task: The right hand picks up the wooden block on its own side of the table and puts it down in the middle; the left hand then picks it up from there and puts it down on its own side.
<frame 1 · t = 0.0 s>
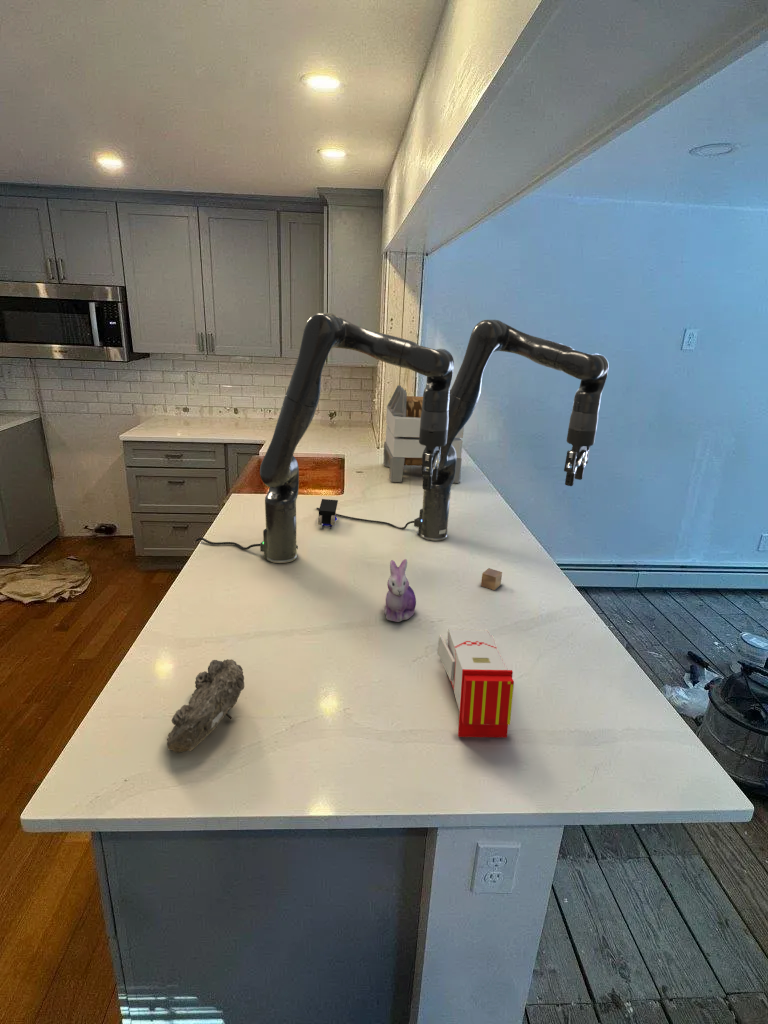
left hand: (429, 484, 157), 29 cm above the counter, tool pointing down, fingers open, 8 cm apart
right hand: (573, 482, 165), 29 cm above the counter, tool pointing down, fingers open, 8 cm apart
figurine character: (327, 524, 206), on the counter
grey slatted planter box: (419, 473, 275), on the counter
block: (490, 585, 165), on the counter
figurine: (399, 614, 147), on the counter
toy: (469, 691, 119), on the counter
fossil: (212, 717, 108), on the counter
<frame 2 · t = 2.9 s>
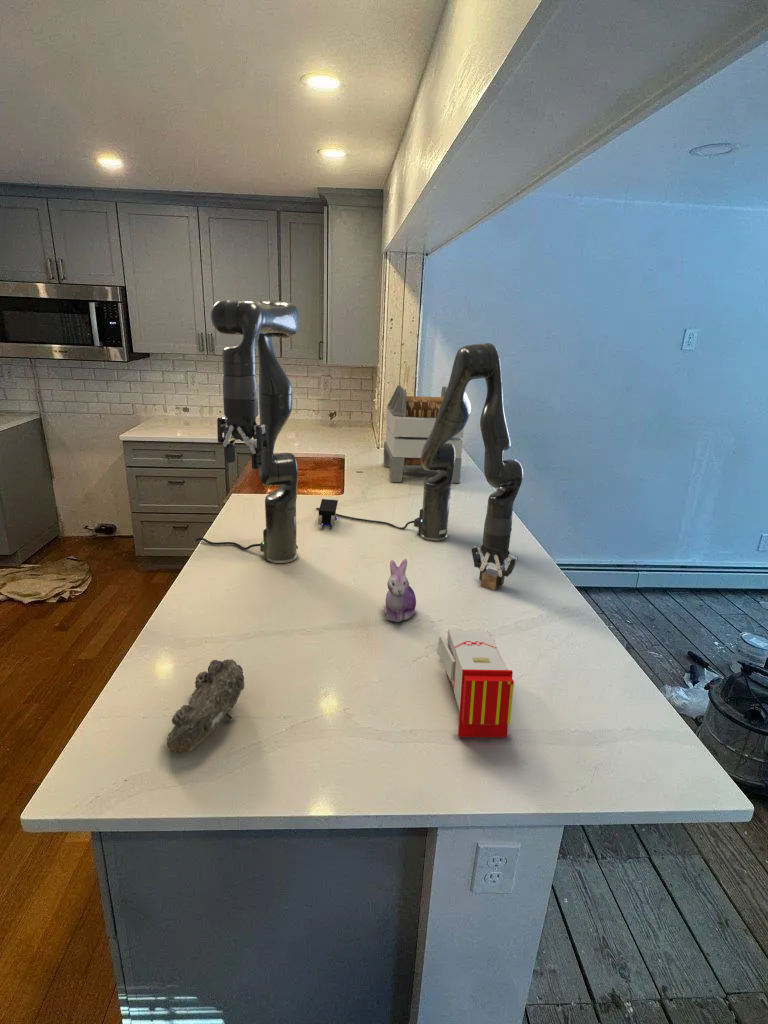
left hand: (243, 465, 132), 39 cm above the counter, tool pointing down, fingers open, 8 cm apart
right hand: (491, 584, 165), 1 cm above the counter, tool pointing down, fingers closed on block, 4 cm apart
block: (490, 585, 165), on the counter, touching right hand
everything else where it was.
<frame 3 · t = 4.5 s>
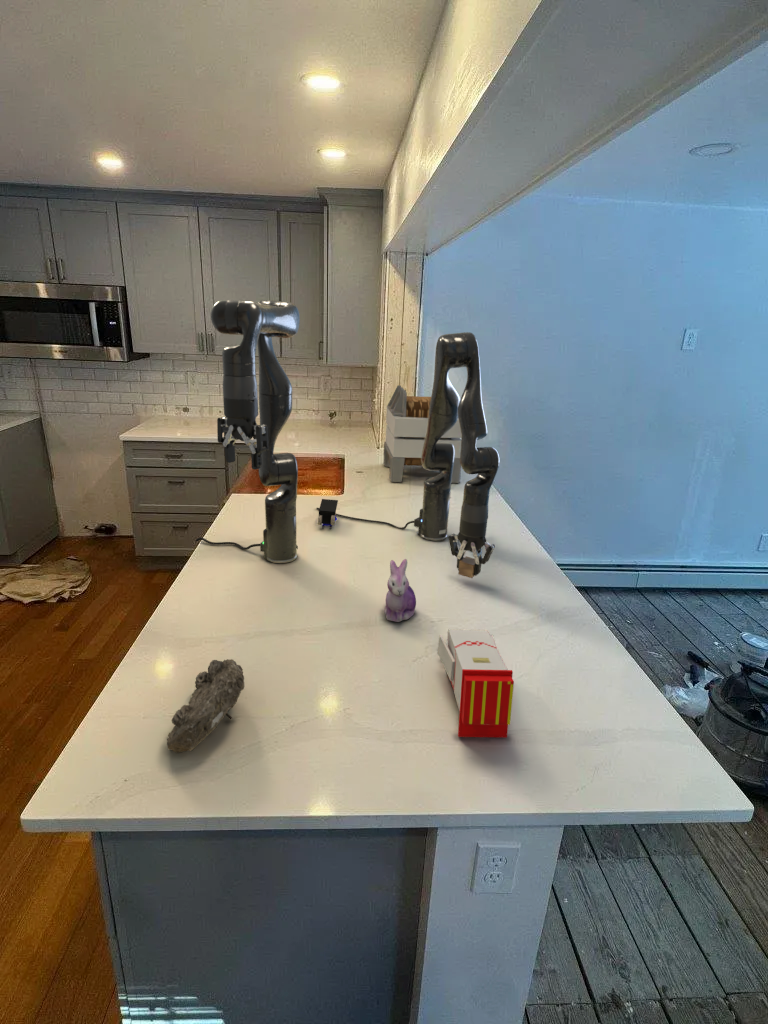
left hand: (243, 465, 132), 39 cm above the counter, tool pointing down, fingers open, 8 cm apart
right hand: (468, 572, 165), 4 cm above the counter, tool pointing down, fingers closed on block, 4 cm apart
block: (468, 573, 165), point 3 cm above the counter, touching right hand
everything else where it was.
when the right hand's fingers open (1 cm above the counter, at t = 6.3 s): block stays where it is, on the counter.
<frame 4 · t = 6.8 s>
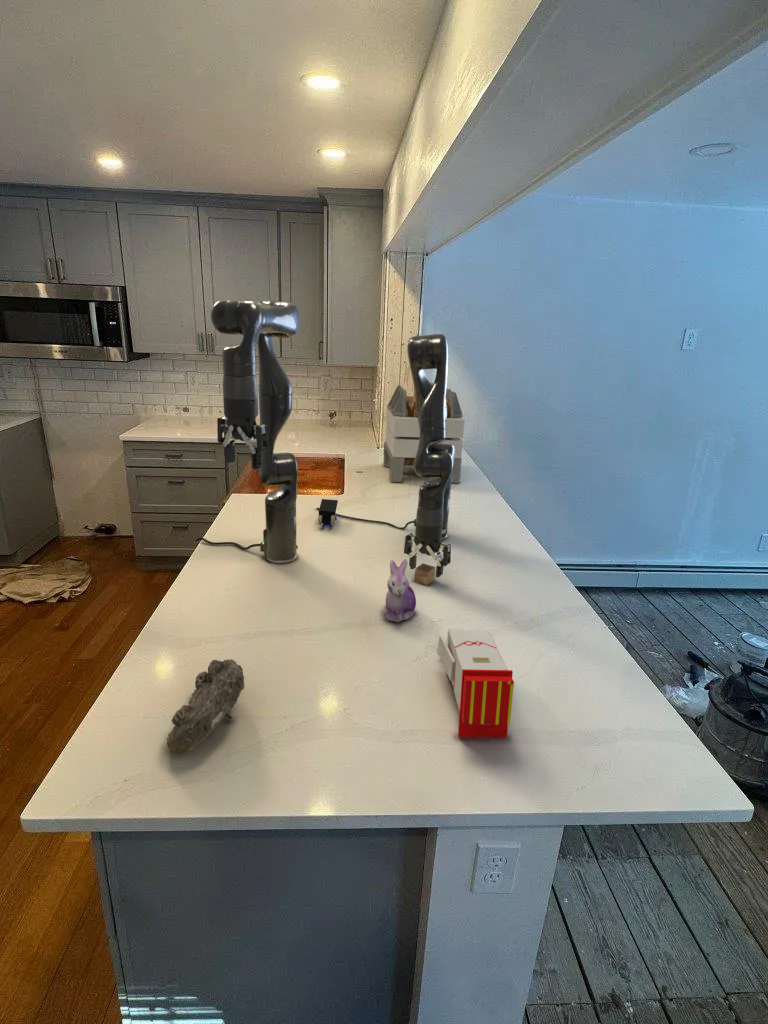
left hand: (243, 465, 132), 39 cm above the counter, tool pointing down, fingers open, 8 cm apart
right hand: (425, 572, 166), 3 cm above the counter, tool pointing down, fingers open, 8 cm apart
block: (424, 580, 166), on the counter
everything else where it was.
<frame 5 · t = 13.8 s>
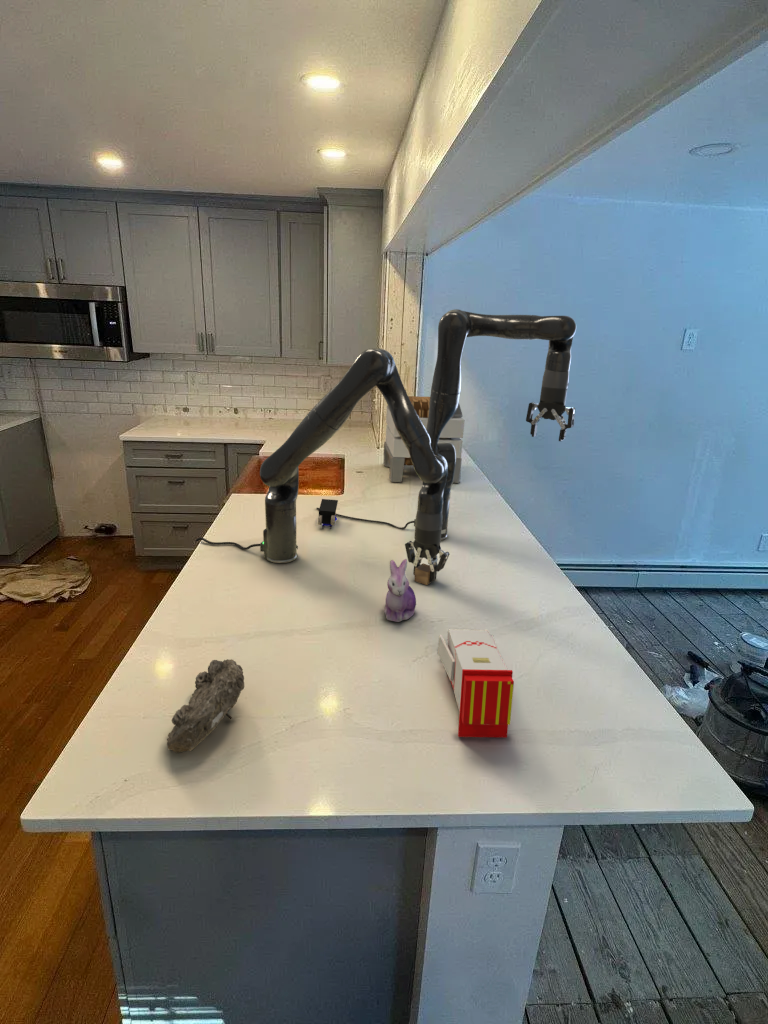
left hand: (424, 579, 166), 1 cm above the counter, tool pointing down, fingers closed on block, 4 cm apart
right hand: (547, 438, 176), 39 cm above the counter, tool pointing down, fingers open, 8 cm apart
block: (424, 580, 166), on the counter, touching left hand
everything else where it was.
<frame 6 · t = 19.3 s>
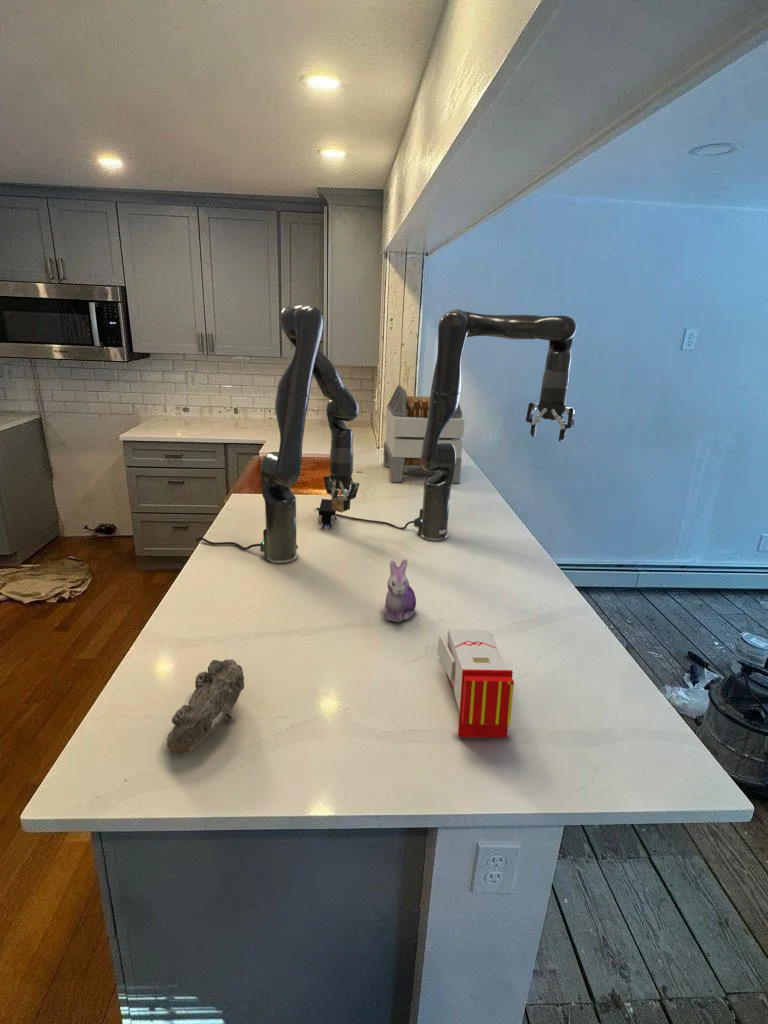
left hand: (340, 508, 191), 10 cm above the counter, tool pointing down, fingers closed on block, 4 cm apart
right hand: (547, 438, 176), 39 cm above the counter, tool pointing down, fingers open, 8 cm apart
block: (340, 509, 192), point 10 cm above the counter, touching left hand
everything else where it was.
when the left hand's fingers open (1 cm above the counter, at t = 24.6 s): block stays where it is, on the counter.
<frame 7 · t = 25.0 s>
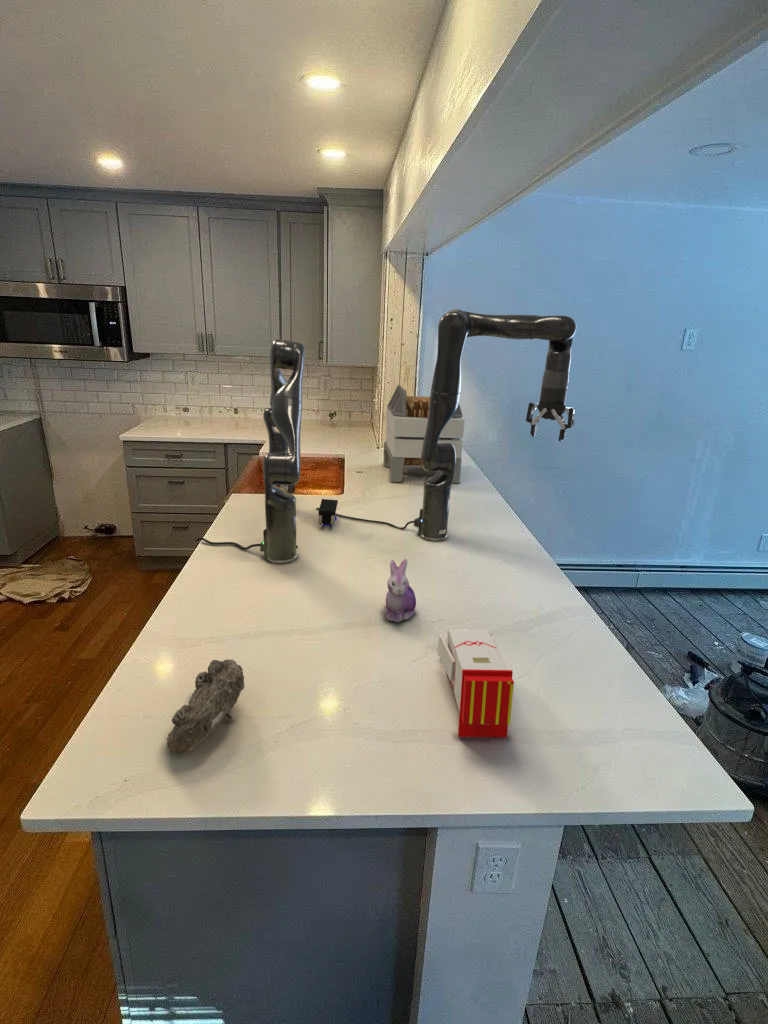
left hand: (279, 500, 221), 2 cm above the counter, tool pointing down, fingers open, 8 cm apart
right hand: (547, 438, 176), 39 cm above the counter, tool pointing down, fingers open, 8 cm apart
block: (280, 505, 222), on the counter
everything else where it was.
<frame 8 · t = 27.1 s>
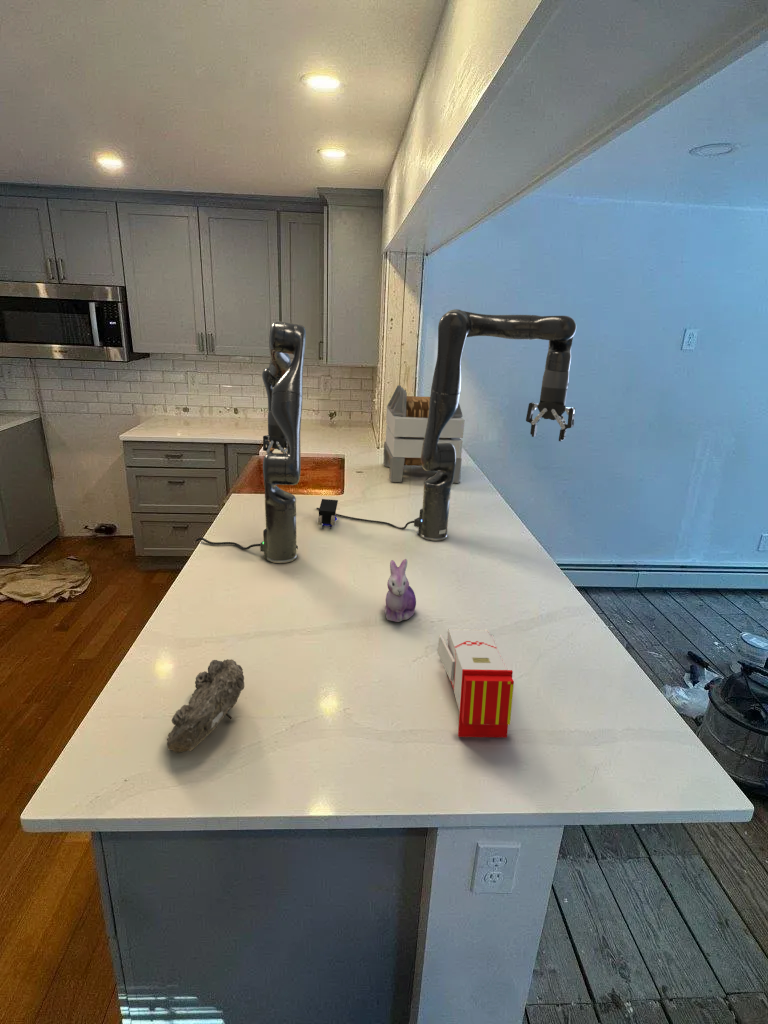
left hand: (278, 464, 217), 17 cm above the counter, tool pointing down, fingers open, 8 cm apart
right hand: (547, 438, 176), 39 cm above the counter, tool pointing down, fingers open, 8 cm apart
nothing on the counter moved.
at the end: block inside the target area (0.1 cm from its centre), on the counter; block tilted 0°; the two hands never held the block at the same time; the left hand is holding nothing; the right hand is holding nothing; block at rest at the end (0.0 cm/s) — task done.
